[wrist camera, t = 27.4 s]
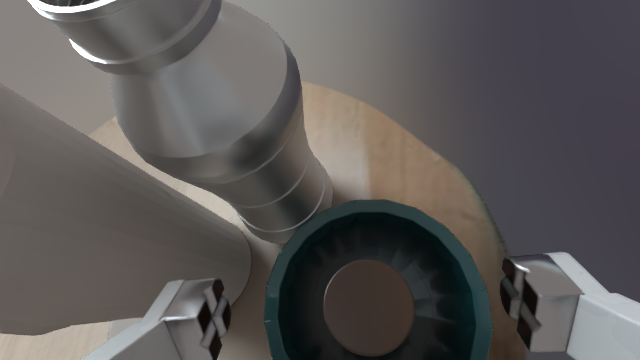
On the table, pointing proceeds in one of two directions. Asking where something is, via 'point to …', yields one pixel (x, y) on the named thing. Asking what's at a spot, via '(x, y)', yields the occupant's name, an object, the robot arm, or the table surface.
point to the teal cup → (396, 251)
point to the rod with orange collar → (368, 307)
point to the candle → (95, 230)
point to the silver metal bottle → (206, 101)
